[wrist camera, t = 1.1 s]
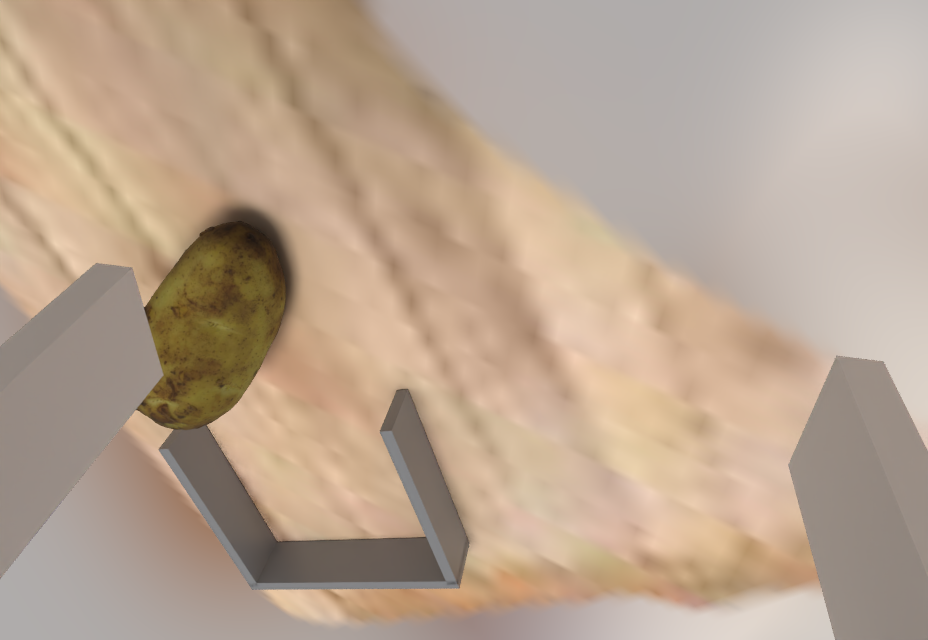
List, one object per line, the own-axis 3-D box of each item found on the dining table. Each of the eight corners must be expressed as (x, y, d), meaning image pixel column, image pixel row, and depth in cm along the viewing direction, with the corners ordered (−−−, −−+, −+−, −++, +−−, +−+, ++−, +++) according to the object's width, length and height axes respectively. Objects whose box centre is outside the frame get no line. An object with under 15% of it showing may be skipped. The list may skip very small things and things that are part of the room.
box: (187, 411, 52) (158, 449, 48) (407, 389, 46) (391, 430, 43) (272, 548, 59) (252, 589, 56) (469, 543, 54) (459, 588, 51)
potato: (349, 288, 43) (299, 369, 36) (236, 385, 49) (177, 468, 43) (242, 191, 40) (168, 259, 34) (138, 306, 47) (60, 381, 40)
